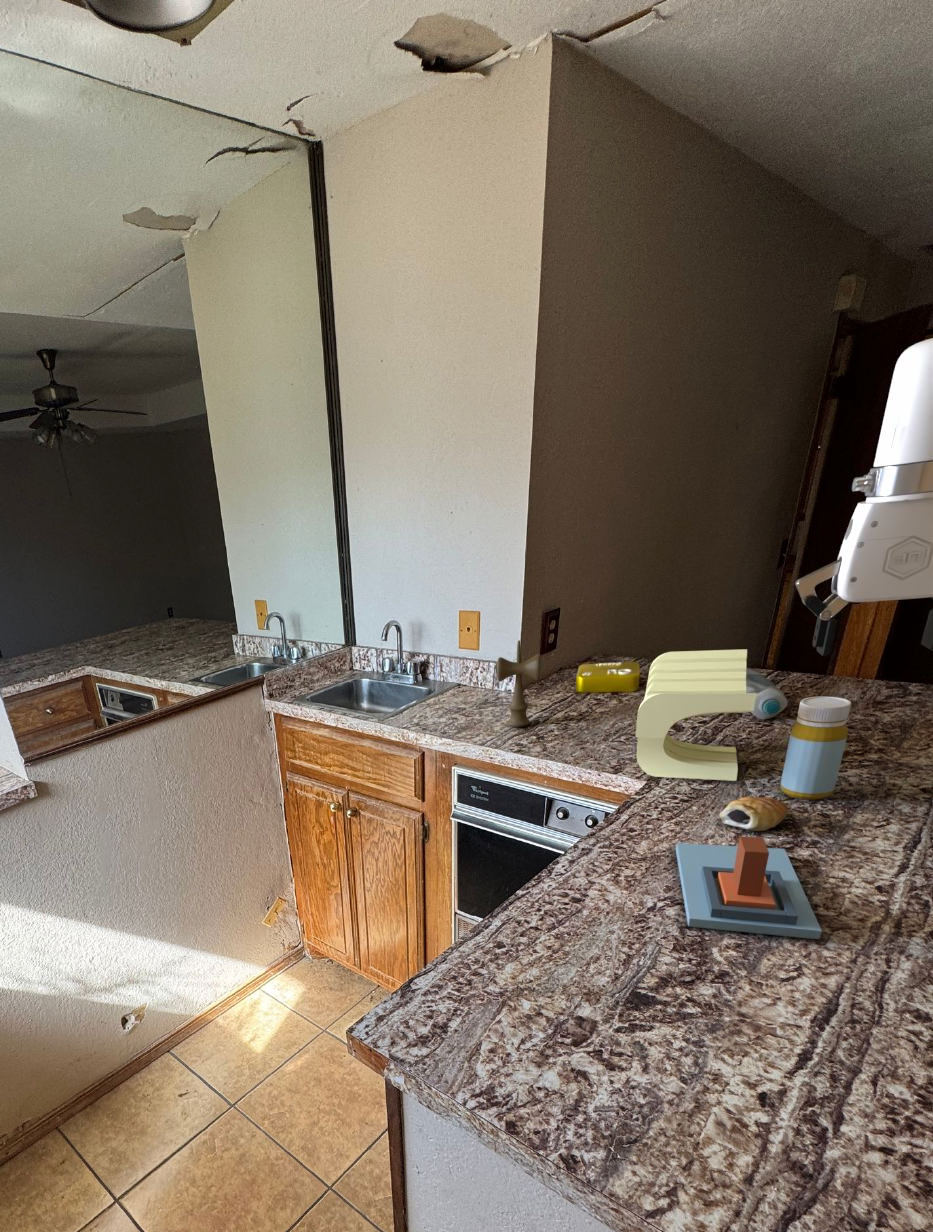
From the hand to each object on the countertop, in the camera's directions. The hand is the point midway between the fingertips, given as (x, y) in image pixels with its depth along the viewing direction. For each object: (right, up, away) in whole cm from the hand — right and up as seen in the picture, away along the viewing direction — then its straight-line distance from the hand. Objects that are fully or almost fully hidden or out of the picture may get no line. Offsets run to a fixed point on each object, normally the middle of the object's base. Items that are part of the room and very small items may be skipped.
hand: (874, 650), depth 74 cm
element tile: (+16, +20, +100) cm, 104 cm away
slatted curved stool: (+6, -8, +47) cm, 48 cm away
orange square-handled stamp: (-11, -29, +6) cm, 31 cm away
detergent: (+34, +7, +69) cm, 77 cm away
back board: (-9, -28, +10) cm, 31 cm away
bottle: (+16, -14, +31) cm, 38 cm away
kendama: (-14, +5, +81) cm, 82 cm away
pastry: (+3, -19, +25) cm, 32 cm away
